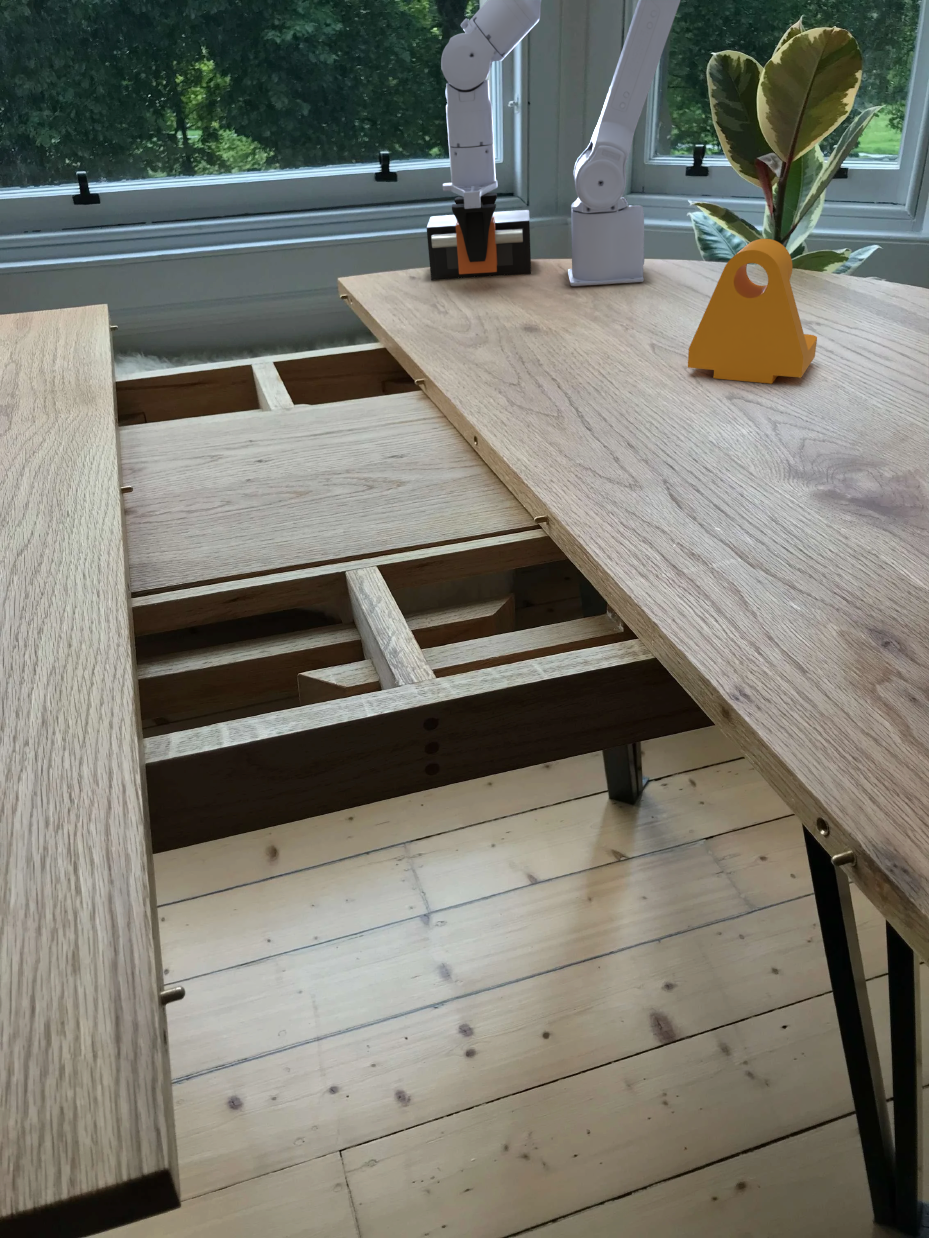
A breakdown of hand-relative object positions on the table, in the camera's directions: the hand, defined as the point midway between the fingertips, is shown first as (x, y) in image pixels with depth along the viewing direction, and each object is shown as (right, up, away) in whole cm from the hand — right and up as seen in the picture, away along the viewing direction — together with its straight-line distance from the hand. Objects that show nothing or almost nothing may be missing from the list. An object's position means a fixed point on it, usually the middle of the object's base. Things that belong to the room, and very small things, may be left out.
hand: (478, 257), depth 130 cm
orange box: (0, -1, +1) cm, 2 cm away
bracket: (+26, -24, -34) cm, 49 cm away
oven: (+1, 0, +7) cm, 7 cm away
